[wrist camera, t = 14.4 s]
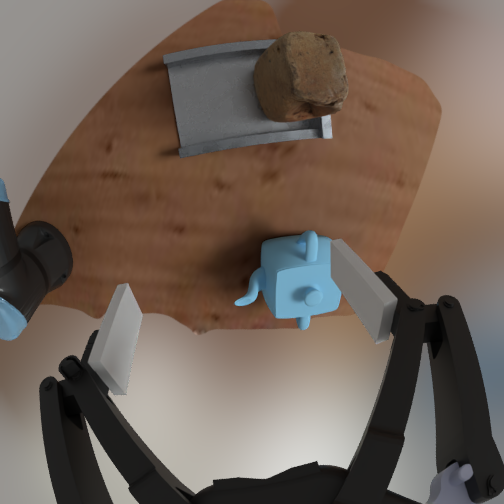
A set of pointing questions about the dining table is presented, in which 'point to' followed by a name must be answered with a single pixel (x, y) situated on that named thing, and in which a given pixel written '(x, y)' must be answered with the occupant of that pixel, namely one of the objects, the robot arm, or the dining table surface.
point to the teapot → (295, 278)
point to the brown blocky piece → (301, 77)
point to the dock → (227, 101)
